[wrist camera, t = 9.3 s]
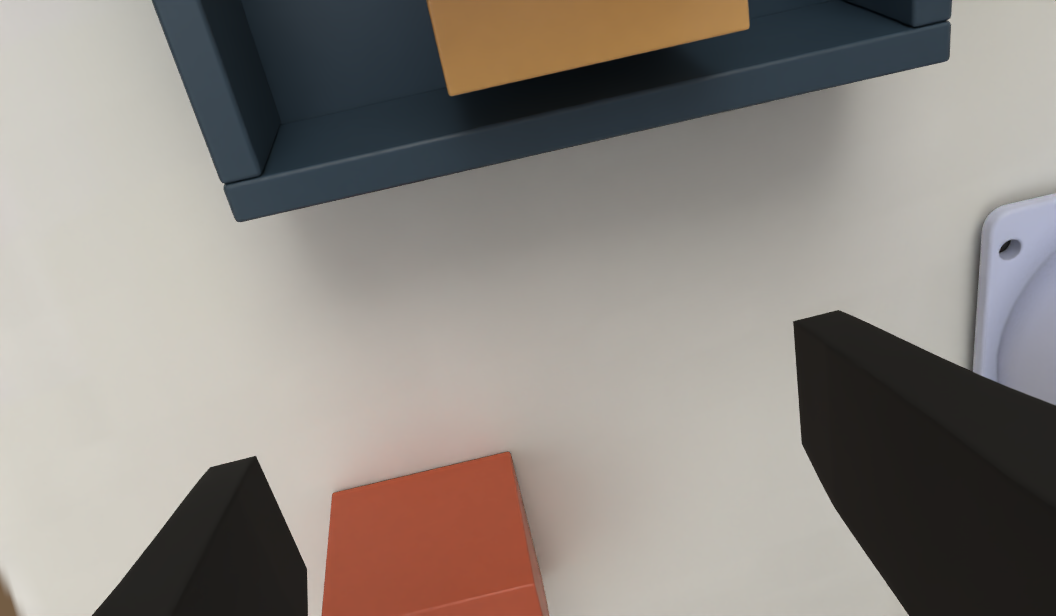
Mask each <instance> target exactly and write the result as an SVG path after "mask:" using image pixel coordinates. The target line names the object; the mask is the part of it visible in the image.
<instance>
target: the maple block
mask: <svg viewBox="0 0 1056 616" xmlns="http://www.w3.org/2000/svg"><path fill="white" fill-rule="evenodd" d="M426 2H427V6H428V11H429V15H430V19H431V23H432V28H433V32H434V36H435V40H436V45H437V49H438V53H439V57H440V62H441V66H442V70H443V74H444V79H445V83H446V87H447V91H448V94H449V96H456V95H460V94H465V93H469V92H473V91H478V90H482V89H487V88H491V87H496V86H500V85H504V84H509V83H513V82H518V81H522V80H527V79H531V78H535V77H540V76H544V75H549V74H553V73H558V72H562V71H566V70H571V69H575V68H580V67H584V66H589V65H593V64H597V63H602V62H606V61H611V60H615V59H620V58H624V57H628V56H633V55H637V54H642V53H646V52H651V51H655V50H659V49H664V48H668V47H673V46H677V45H682V44H686V43H690V42H695V41H699V40H704V39H708V38H713V37H717V36H721V35H726V34H730V33H735V32H739V31H744V30H747V29H749V26H750V22H749V7H748V0H426Z"/></svg>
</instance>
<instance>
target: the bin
mask: <svg viewBox="0 0 1056 616" xmlns="http://www.w3.org/2000/svg"><path fill="white" fill-rule="evenodd" d="M152 3H153V5H154V8H155V10H156V13H157V16H158V18H159V21H160V24H161V26H162V29H163V31H164V34H165V37H166V39H167V42H168V45H169V47H170V50H171V52H172V55H173V58H174V60H175V63H176V66H177V68H178V71H179V74H180V76H181V79H182V81H183V84H184V87H185V89H186V92H187V95H188V97H189V100H190V102H191V105H192V108H193V110H194V113H195V116H196V118H197V121H198V123H199V126H200V129H201V131H202V134H203V137H204V139H205V142H206V145H207V147H208V150H209V152H210V155H211V158H212V160H213V163H214V166H215V168H216V171H217V173H218V176H219V179H220V181H221V182H222V183H225V184H224V192H225V194H226V197H227V200H228V202H229V205H230V208H231V210H232V213H233V215H234V218H235V220H236V221H237V222H244V221H248V220H253V219H257V218H261V217H266V216H270V215H275V214H279V213H283V212H288V211H292V210H297V209H301V208H305V207H310V206H314V205H318V204H323V203H327V202H332V201H336V200H340V199H345V198H349V197H354V196H358V195H362V194H367V193H371V192H375V191H380V190H384V189H389V188H393V187H397V186H402V185H406V184H411V183H415V182H419V181H424V180H428V179H432V178H437V177H441V176H446V175H450V174H454V173H459V172H463V171H468V170H472V169H476V168H481V167H485V166H489V165H494V164H498V163H503V162H507V161H511V160H516V159H520V158H525V157H529V156H533V155H538V154H542V153H546V152H551V151H555V150H560V149H564V148H568V147H573V146H577V145H581V144H586V143H590V142H595V141H599V140H603V139H608V138H612V137H617V136H621V135H625V134H630V133H634V132H638V131H643V130H647V129H652V128H656V127H660V126H665V125H669V124H674V123H678V122H682V121H687V120H691V119H695V118H700V117H704V116H709V115H713V114H717V113H722V112H726V111H731V110H735V109H739V108H744V107H748V106H752V105H757V104H761V103H766V102H770V101H774V100H779V99H783V98H788V97H792V96H796V95H801V94H805V93H809V92H814V91H818V90H823V89H827V88H831V87H836V86H840V85H845V84H849V83H853V82H858V81H862V80H866V79H871V78H875V77H880V76H884V75H888V74H893V73H897V72H902V71H906V70H910V69H915V68H919V67H923V66H928V65H932V64H937V63H941V62H945V61H947V60H948V59H949V57H950V33H951V25H950V22H949V21H947V20H948V19H949V18H950V17H951V7H952V0H748V7H749V22H750V26H749V29H747V30H744V31H739V32H735V33H730V34H726V35H721V36H717V37H713V38H708V39H704V40H699V41H695V42H690V43H686V44H682V45H677V46H673V47H668V48H664V49H659V50H655V51H651V52H646V53H642V54H637V55H633V56H628V57H624V58H620V59H615V60H611V61H606V62H602V63H597V64H593V65H589V66H584V67H580V68H575V69H571V70H566V71H562V72H558V73H553V74H549V75H544V76H540V77H535V78H531V79H527V80H522V81H518V82H513V83H509V84H504V85H500V86H496V87H491V88H487V89H482V90H478V91H473V92H469V93H465V94H460V95H456V96H449V94H448V91H447V87H446V83H445V79H444V74H443V70H442V66H441V62H440V57H439V53H438V49H437V45H436V40H435V36H434V32H433V28H432V23H431V19H430V15H429V11H428V6H427V2H426V0H152Z"/></svg>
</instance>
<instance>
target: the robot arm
mask: <svg viewBox="0 0 1056 616" xmlns="http://www.w3.org/2000/svg"><path fill="white" fill-rule="evenodd" d="M1009 240H1011V242H1010V245H1009V246H1008V247H1007V249H1006V250H1005V251H1002V252H1000V253H999V251H1000V248H1001V246H1002V245H1003V244H1004V243H1005V242H1007V241H1009ZM793 324H794V338H795V352H796V367H797V381H798V395H799V410H800V424H801V438H802V445H803V447H804V449H805V451H806V453H807V455H808V457H809V459H810V461H811V463H812V465H813V467H814V469H815V471H816V473H817V475H818V477H819V479H820V481H821V483H822V485H823V487H824V489H825V491H826V492H827V494H828V496H829V498H830V500H831V502H832V504H833V506H834V507H835V509H836V510H837V512H838V513H839V515H840V516H841V518H842V519H843V521H844V522H845V524H846V525H847V527H848V528H849V530H850V531H851V532H852V534H853V535H854V537H855V538H856V540H857V541H858V543H859V544H860V546H861V547H862V548H863V550H864V551H865V553H866V554H867V556H868V557H869V559H870V560H871V561H872V563H873V564H874V566H875V567H876V569H877V570H878V571H879V573H880V574H881V576H882V577H883V579H884V580H885V581H886V583H887V584H888V586H889V587H890V589H891V590H892V592H893V593H894V594H895V596H896V597H897V599H898V600H899V602H900V603H901V604H902V606H903V607H904V609H905V610H906V612H907V613H908V614H909V616H1056V193H1053V194H1049V195H1044V196H1040V197H1036V198H1031V199H1027V200H1023V201H1018V202H1014V203H1010V204H1006V205H1003V206H1000V207H998V208H996V209H995V210H993V211H992V212H991V213H990V214H989V215H988V216H987V218H986V219H985V221H984V224H983V227H982V236H981V252H980V267H979V282H978V297H977V313H976V328H975V343H974V358H973V372H972V371H970V370H967V369H965V368H963V367H961V366H958V365H956V364H954V363H952V362H950V361H947V360H945V359H943V358H941V357H939V356H937V355H934V354H932V353H930V352H928V351H926V350H924V349H921V348H919V347H917V346H915V345H913V344H911V343H909V342H907V341H905V340H903V339H900V338H898V337H896V336H894V335H892V334H890V333H888V332H886V331H884V330H882V329H879V328H877V327H875V326H873V325H871V324H869V323H867V322H865V321H862V320H860V319H858V318H856V317H854V316H851V315H849V314H847V313H844V312H842V311H839V310H837V311H833V312H829V313H825V314H821V315H817V316H813V317H809V318H805V319H801V320H797V321H793ZM92 616H308V599H307V568H306V566H305V564H304V561H303V559H302V557H301V555H300V552H299V550H298V548H297V546H296V544H295V541H294V539H293V537H292V535H291V533H290V530H289V528H288V526H287V524H286V522H285V519H284V517H283V515H282V513H281V510H280V508H279V506H278V504H277V502H276V499H275V497H274V495H273V493H272V491H271V488H270V486H269V484H268V482H267V479H266V477H265V475H264V473H263V471H262V468H261V466H260V464H259V462H258V460H257V457H256V456H254V457H250V458H246V459H242V460H238V461H234V462H230V463H226V464H222V465H218V466H214V467H210V468H209V469H208V470H207V472H206V473H205V474H204V475H203V476H202V477H201V479H200V480H199V481H198V482H197V484H196V485H195V486H194V487H193V489H192V490H191V491H190V493H189V494H188V495H187V496H186V498H185V499H184V500H183V502H182V503H181V504H180V506H179V507H178V508H177V509H176V511H175V512H174V513H173V515H172V516H171V517H170V519H169V520H168V521H167V523H166V524H165V525H164V527H163V528H162V529H161V530H160V532H159V533H158V534H157V536H156V537H155V538H154V540H153V541H152V542H151V543H150V545H149V546H148V547H147V549H146V550H145V551H144V552H143V554H142V555H141V556H140V557H139V559H138V560H137V561H136V563H135V564H134V565H133V566H132V568H131V569H130V570H129V572H128V573H127V574H126V575H125V577H124V578H123V579H122V581H121V582H120V583H119V584H118V585H117V587H116V588H115V589H114V590H113V591H112V593H111V594H110V595H109V596H108V597H107V598H106V600H105V601H104V602H103V603H102V604H101V606H100V607H99V608H98V609H97V610H96V611H95V613H94V614H93V615H92Z"/></svg>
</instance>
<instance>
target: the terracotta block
mask: <svg viewBox="0 0 1056 616" xmlns="http://www.w3.org/2000/svg"><path fill="white" fill-rule="evenodd" d="M322 616H549V611H548V606H547V601H546V596H545V591H544V586H543V581H542V577H541V573H540V569H539V565H538V561H537V557H536V553H535V549H534V545H533V541H532V537H531V533H530V529H529V525H528V521H527V517H526V513H525V509H524V505H523V501H522V497H521V493H520V489H519V485H518V481H517V477H516V473H515V469H514V465H513V461H512V457H511V453H510V452H504V453H500V454H496V455H492V456H487V457H483V458H479V459H475V460H470V461H466V462H462V463H458V464H454V465H449V466H445V467H441V468H437V469H432V470H428V471H424V472H420V473H416V474H411V475H407V476H403V477H399V478H394V479H390V480H386V481H382V482H377V483H373V484H369V485H365V486H361V487H356V488H352V489H348V490H344V491H339V492H335V493H333V494H332V503H331V515H330V526H329V537H328V549H327V560H326V571H325V583H324V594H323V605H322Z"/></svg>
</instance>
